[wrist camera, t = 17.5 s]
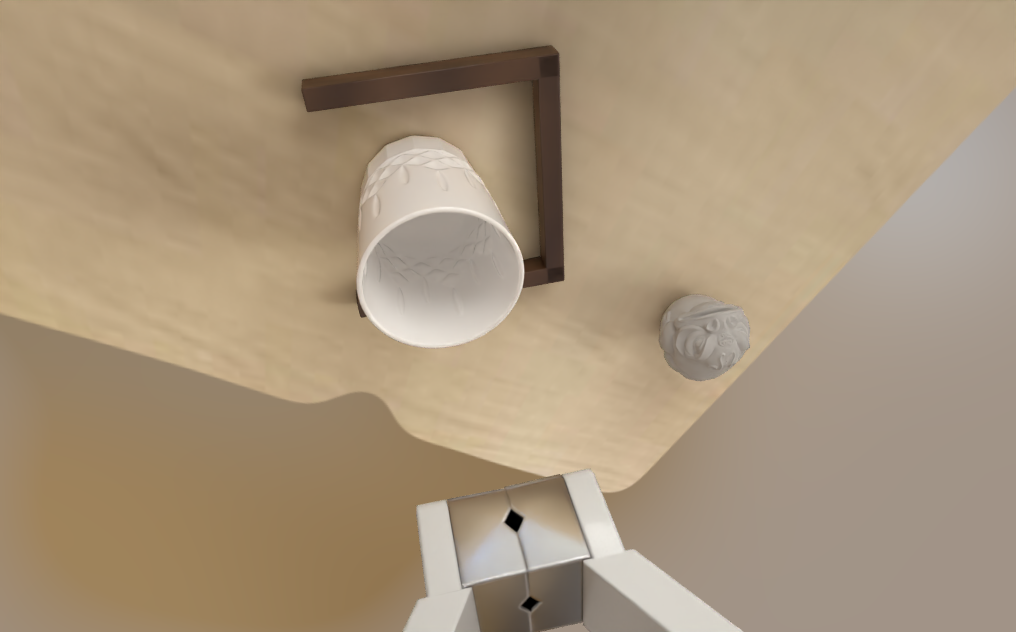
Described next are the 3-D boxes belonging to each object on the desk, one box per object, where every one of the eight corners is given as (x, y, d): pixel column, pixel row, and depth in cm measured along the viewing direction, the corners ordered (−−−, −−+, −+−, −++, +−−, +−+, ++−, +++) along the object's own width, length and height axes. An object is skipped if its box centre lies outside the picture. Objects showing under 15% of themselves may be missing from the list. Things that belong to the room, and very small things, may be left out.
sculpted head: (726, 258, 47) (778, 316, 42) (716, 334, 52) (761, 396, 46) (644, 274, 47) (686, 336, 41) (640, 350, 51) (678, 415, 45)
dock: (359, 304, 43) (360, 318, 42) (302, 79, 34) (301, 89, 33) (558, 268, 45) (564, 280, 44) (552, 45, 36) (559, 53, 35)
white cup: (460, 259, 43) (490, 360, 35) (336, 231, 40) (338, 334, 32) (505, 146, 39) (550, 231, 31) (371, 105, 36) (383, 188, 28)
